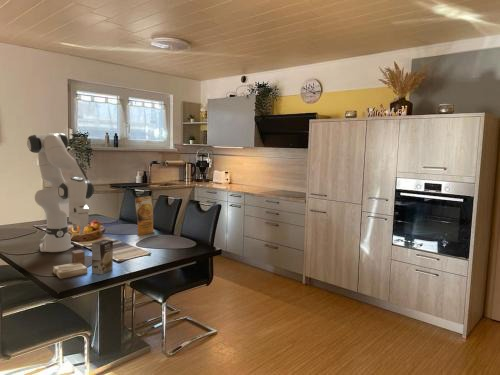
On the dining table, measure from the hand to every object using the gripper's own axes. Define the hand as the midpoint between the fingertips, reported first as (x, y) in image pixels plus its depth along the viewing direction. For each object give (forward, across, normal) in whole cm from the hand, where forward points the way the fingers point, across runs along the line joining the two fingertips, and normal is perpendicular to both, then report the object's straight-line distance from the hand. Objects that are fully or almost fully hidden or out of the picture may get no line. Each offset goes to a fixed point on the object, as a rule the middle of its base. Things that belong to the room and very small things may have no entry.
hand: (78, 232), depth 202 cm
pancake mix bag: (+19, -46, +63) cm, 80 cm away
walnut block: (+19, 0, 0) cm, 19 cm away
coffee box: (+19, +16, +7) cm, 26 cm away
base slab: (+19, +9, -7) cm, 22 cm away
